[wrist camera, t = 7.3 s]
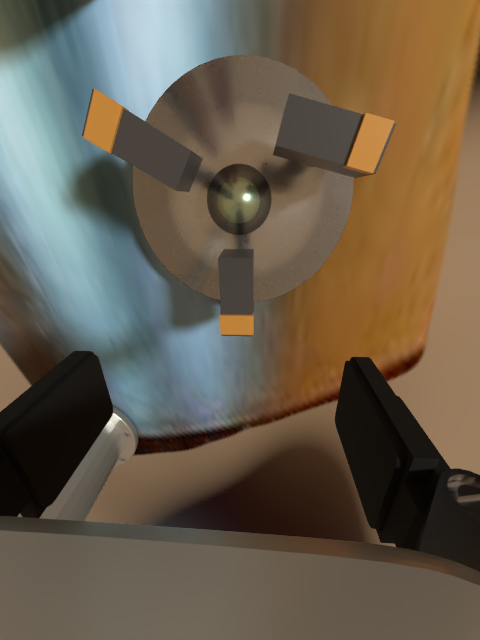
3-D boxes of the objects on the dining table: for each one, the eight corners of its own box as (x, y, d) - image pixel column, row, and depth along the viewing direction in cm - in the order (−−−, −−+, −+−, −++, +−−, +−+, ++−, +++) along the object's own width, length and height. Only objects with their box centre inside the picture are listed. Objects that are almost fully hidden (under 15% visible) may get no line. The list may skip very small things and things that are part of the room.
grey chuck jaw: (226, 245, 23) (216, 258, 18) (254, 244, 22) (253, 258, 17) (228, 308, 25) (220, 336, 20) (254, 308, 25) (253, 337, 20)
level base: (293, 318, 28) (298, 336, 24) (128, 261, 26) (108, 271, 23) (388, 121, 20) (416, 105, 17) (164, 26, 19) (142, -15, 15)
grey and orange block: (271, 159, 20) (275, 146, 15) (281, 120, 19) (289, 90, 14) (346, 180, 20) (376, 174, 15) (360, 142, 19) (398, 122, 14)
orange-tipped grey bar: (208, 161, 20) (190, 148, 15) (195, 193, 21) (174, 191, 16) (136, 116, 19) (90, 86, 14) (125, 151, 20) (79, 135, 15)
